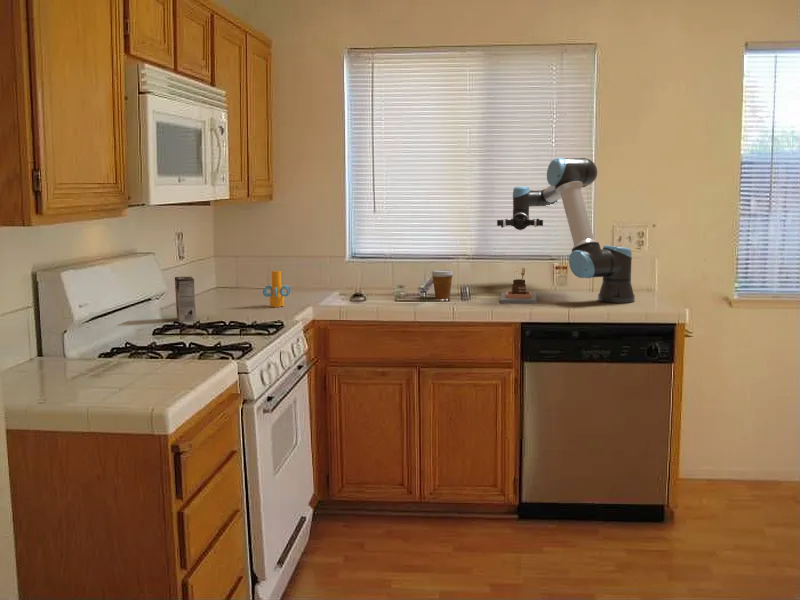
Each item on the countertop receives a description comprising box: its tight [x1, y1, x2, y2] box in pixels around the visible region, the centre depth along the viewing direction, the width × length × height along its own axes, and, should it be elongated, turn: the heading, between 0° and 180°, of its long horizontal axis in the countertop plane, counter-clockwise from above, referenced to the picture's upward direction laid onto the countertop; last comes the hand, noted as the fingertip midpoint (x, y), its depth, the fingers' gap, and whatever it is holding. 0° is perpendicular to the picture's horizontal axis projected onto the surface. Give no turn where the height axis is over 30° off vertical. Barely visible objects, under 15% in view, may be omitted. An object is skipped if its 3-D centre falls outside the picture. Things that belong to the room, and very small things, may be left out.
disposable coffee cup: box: [431, 269, 454, 300], centre depth 384 cm, size 10×10×12 cm
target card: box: [499, 290, 537, 305], centre depth 376 cm, size 15×22×3 cm
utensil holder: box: [511, 267, 527, 294], centre depth 376 cm, size 6×6×12 cm
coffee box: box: [174, 276, 197, 322], centre depth 334 cm, size 9×6×16 cm
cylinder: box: [262, 269, 291, 308], centre depth 364 cm, size 12×10×15 cm
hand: (519, 224), depth 381 cm, fingers open, 13 cm apart
